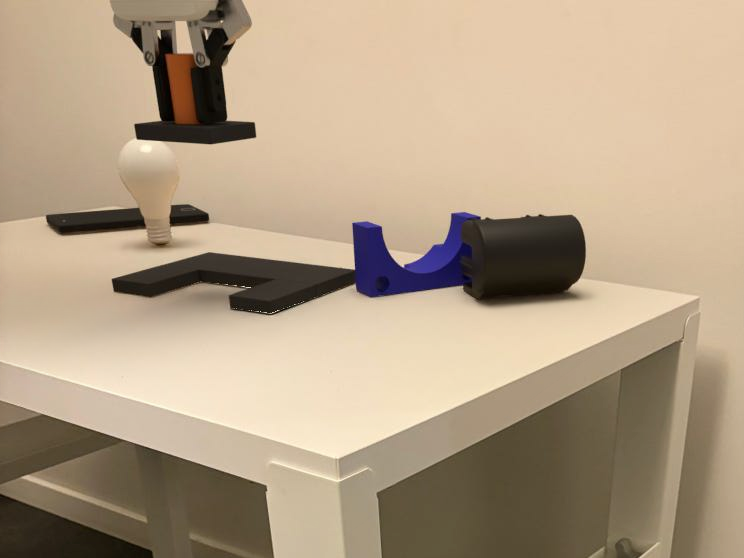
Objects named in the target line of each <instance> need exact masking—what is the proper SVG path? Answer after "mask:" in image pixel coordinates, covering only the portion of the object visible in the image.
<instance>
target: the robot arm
mask: <svg viewBox="0 0 744 558" xmlns="http://www.w3.org/2000/svg"><path fill="white" fill-rule="evenodd" d="M109 4H110V8H111V10H112V12H113V17H112V23H113V25H114V27H115V28H116V29H118V30H119V31H120V32H121V33H123V34H124V35H125V36H127V37H128V38H130V39H131V40H132V42H133V43H134V45H135V46H136V48H137V49H138V50H139V51H140V52H141V53H142V54H143V60H144V63H145V64H146V65H147V66H149V67H151V68H152V76H153V82H154V87H155V89H154V90H155V95H156V102H157V107H158V114H159V119H160V121H168V122H169V121H175V118H174V111H173V104H172V97H171V90H170V84H169V77H168V70H167V63H166V56H165V54H175V53H178V44H177V29H176V22H186V25H187V26H186V27H187V31H188V37H189V41H190V43H191V44H190V45H191V49H192V53H193V55H194V59H195V63H196V64H197V67H192V68H191V72H190V74H191V81H192V88H193V96H194V103H195V110H196V118H197V120H198V121H199V123H205V124H207V123H215V122H223V121H228V110H227V98H226V90H225V81H224V74H223V67H226V66H227V65H228V63H229V54H230V52H231V51H232V49H233V47H234V46H235V44H236V42H237V40H239V39H240V38H241V37H243V35H245V34H246V33H247V32H248V31H249V30H250V29H251V28H252V26H253V22H252V18H251V16H250V14H249V12H248V10H247V8H246V6H245V4H244V1H243V0H109ZM158 31H160V33H159V34H160V36H159V35H158ZM206 34H207V35H206Z"/></svg>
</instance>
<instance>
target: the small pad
mask: <svg viewBox="0 0 744 558" xmlns="http://www.w3.org/2000/svg"><path fill="white" fill-rule="evenodd" d="M165 56H166V63H167V70H168V77H169V84H170V90H171V97H172V104H173V111H174V118H175V121H169V122H168V121H162V120H156V121H147V122H146V121H145V122H139V123H134V124H133V127H134V132H135V138H136V139H137V140H148V141H162V142H164V143H165V142H166V143H167V142H168V143H179V144H180V143H182V144H195V145H196V144H197V145H210V146H211V145H218V144H224V143H225V144H226V143H231V142H236V141H243V140H245V141H246V140H249V139H256V138H257V130H256V129H257V128H256V122H254V121H242V120H240V121H239V120H226V121H223V122H215V123H207V124H205V123H199V121H198V120H197V118H196V110H195V103H194V96H193V88H192V81H191V74H190V72H191V68H192V67H197V64H196V63H195V59H194V55H193V52H192V53H191V52H189V53H188V52H187V53H186V52H185V53H182V52H181V53H178V52H177V53H175V54H165Z"/></svg>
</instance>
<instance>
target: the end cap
mask: <svg viewBox="0 0 744 558" xmlns="http://www.w3.org/2000/svg"><path fill="white" fill-rule="evenodd" d="M460 237H461V241H462V242H464V243H466V244H468V245H470V246H471V248H472V259H471V258H469V257H467V256H465V255H464V256H461V260H460V263H461V269H462V272H463V273H464V274H465V275H467V276H468V277H470V278H472V282H464V283H463V285H462V290H463V291H464V292H466V293H467V294H469V295H470V296H471V297H473V298H475V299H478V300H479V299H489V298H501V297H511V296H512V297H513V296H522V295H535V294H544V293H545V294H546V293H557V292H567V291H569V290H570V288H571V287H572V286H573V285H575V284H576V283H578V282H579V280H581V277H582V275H583V273H584V269H585V264H586V258H587V247H586V246H587V245H586V244H587V243H586V237H585V233H584V228H583V226H582V224H581V222H580V220H579V219H578V218H577V217H576V216H575V215H573V214H560V215H558V214H557V215H544V214H542V213H539V214H538V215H529V214H526V215H525V216H520V217H511V218H490V217H488V216H487V217H485V218H481V219H480V220H477V219H475V218H473V219H472V220H467V221H465V222H463V224H462V226H461V234H460Z"/></svg>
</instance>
